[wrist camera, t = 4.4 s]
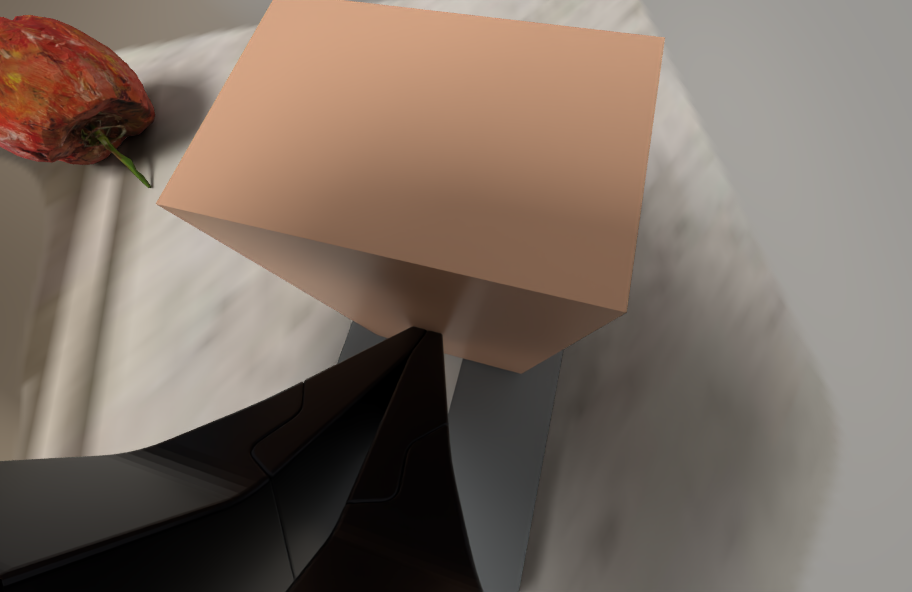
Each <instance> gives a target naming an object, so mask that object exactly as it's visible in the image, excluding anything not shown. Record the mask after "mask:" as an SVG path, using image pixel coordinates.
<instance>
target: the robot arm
mask: <svg viewBox="0 0 912 592" xmlns="http://www.w3.org/2000/svg"><path fill="white" fill-rule="evenodd" d="M448 425H449V421H448V407H447V392H446V377H445V363H444V348H443V335H442V334H441V333H438V332H434V331H427V330H425V329H422V328H418V327H415V326H412V327H410V328H408V329H406V330H404V331H402V332H400V333H398V334H396V335H394V336H392V337H390V338H388V339H386V340H384V341H382V342H380V343H378V344H376V345H374V346H372V347H370V348H368V349H366V350H364V351H362V352H360V353H358V354H356V355H354V356H352V357H350V358H348V359H346V360H344V361H342V362H340V363H338V364H336V365H334V366H332V367H330V368H328V369H326V370H324V371H322V372H320V373H318V374H316V375H314V376H312V377H310V378H308V379H306V380H305V381H304V383H303V382H300V383H298V384H296V385H294V386H292V387H290V388H288V389H286V390H284V391H282V392H280V393H278V394H276V395H274V396H271V397H269V398H267V399H265V400H263V401H261V402H258V403H256V404H254V405H251V406H249V407H247V408H244V409H242V410H240V411H237V412H235V413H233V414H230V415H228V416H225V417H223V418H220V419H218V420H215V421H213V422H211V423H208V424H206V425H203V426H201V427H198V428H196V429H193V430H191V431H189V432H186V433H184V434H181V435H179V436H176V437H174V438H171V439H169V440H167V441H164V442H161V443H158V444H156V445H153V446H150V447H146V448H143V449H140V450H135V451H131V452H127V453H120V454H113V455H102V456H84V457H66V458H48V459H30V460H12V461H0V592H484V591H483V589H482V586H481V583H480V580H479V577H478V573H477V570H476V566H475V563H474V559H473V555H472V551H471V547H470V543H469V538H468V534H467V529H466V525H465V520H464V516H463V511H462V507H461V502H460V498H459V494H458V489H457V484H456V479H455V474H454V468H453V463H452V455H451V446H450V434H449V426H448Z"/></svg>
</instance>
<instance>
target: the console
mask: <svg viewBox="0 0 912 592" xmlns="http://www.w3.org/2000/svg"><path fill="white" fill-rule="evenodd" d="M386 339H388V338H385V337H381V336H378V335H376V334H375V333H373V332H371V331H370V330H368V329H366V328H364V327H363V326H361V325H359V324H358V323H356V322H354V321H352V324H351V327H350V330H349V333H348V335H347V338H346V341H345V344H344V346H343V349H342V352H341V355H340V358H339V360H338V363H340V362H342V361H344V360H346V359H348V358H350V357H352V356H354V355H356V354H358V353H360V352H362V351H364V350H366V349H368V348H370V347H372V346H374V345H376V344H378V343H380V342H382V341H384V340H386ZM563 350H564V349H563ZM563 350H561V351H560V352H558V353H556V354H555V355H553V356H551V357H549V358H548V359H546V360H544V361H542V362H541V363H539V364H537V365H536V366H534V367H532V368H530V369H529V370H527V371H525V372H524V373H522V374H520V373H516V372H512V371H508V370H505V369H501V368H497V367H493V366H490V365H486V364H482V363H478V362H475V361H471V360H467V359H464V358H460V357H456V356H452V355H449V354H445V353H444V363H445V377H446V392H447V407H448V421H449V425H448V426H449V434H450V446H451V455H452V463H453V468H454V474H455V479H456V484H457V489H458V494H459V498H460V502H461V507H462V511H463V516H464V520H465V525H466V529H467V534H468V538H469V543H470V547H471V551H472V555H473V559H474V563H475V566H476V570H477V573H478V577H479V580H480V583H481V586H482V589H483V591H484V592H519V588H520V582H521V577H522V571H523V566H524V561H525V555H526V550H527V544H528V539H529V534H530V528H531V523H532V517H533V512H534V507H535V501H536V496H537V490H538V485H539V480H540V474H541V469H542V463H543V458H544V453H545V447H546V442H547V436H548V431H549V426H550V420H551V415H552V409H553V404H554V399H555V393H556V388H557V382H558V377H559V371H560V366H561V361H562V355H563ZM338 363H337V364H338Z"/></svg>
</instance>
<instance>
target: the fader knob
mask: <svg viewBox="0 0 912 592" xmlns="http://www.w3.org/2000/svg"><path fill="white" fill-rule="evenodd" d="M664 40H665V38H664V37H655V36H646V35H638V34H629V33H621V32H612V31H603V30H595V29H586V28H577V27H569V26H560V25H552V24H543V23H534V22H526V21H517V20H509V19H500V18H491V17H483V16H474V15H466V14H457V13H448V12H440V11H431V10H423V9H414V8H405V7H397V6H388V5H379V4H371V3H362V2H353V1H345V0H273V1H272V2H271V4H270V6H269V8H268V9H267V11H266V13H265V15H264V16H263V18H262V20H261V22H260V23H259V25H258V27H257V29H256V30H255V32H254V34H253V36H252V37H251V39H250V41H249V42H248V44H247V46H246V48H245V49H244V51H243V53H242V55H241V56H240V58H239V60H238V62H237V63H236V65H235V67H234V69H233V70H232V72H231V74H230V76H229V77H228V79H227V81H226V83H225V84H224V86H223V88H222V89H221V91H220V93H219V95H218V96H217V98H216V100H215V102H214V103H213V105H212V107H211V109H210V110H209V112H208V114H207V116H206V117H205V119H204V121H203V123H202V124H201V126H200V128H199V129H198V131H197V133H196V135H195V136H194V138H193V140H192V142H191V143H190V145H189V147H188V149H187V150H186V152H185V154H184V156H183V157H182V159H181V161H180V163H179V164H178V166H177V168H176V170H175V171H174V173H173V175H172V176H171V178H170V180H169V182H168V183H167V185H166V187H165V189H164V190H163V192H162V194H161V196H160V197H159V199H158V201H157V203H156V204H157V205H159V206H160V207H162V208H164V209H165V210H167V211H169V212H170V213H172V214H174V215H176V216H177V217H179V218H181V219H182V220H184V221H186V222H187V223H189V224H191V225H192V226H194V227H196V228H197V229H199V230H201V231H203V232H204V233H206V234H208V235H209V236H211V237H213V238H214V239H216V240H218V241H219V242H221V243H223V244H224V245H226V246H228V247H230V248H231V249H233V250H235V251H236V252H238V253H240V254H241V255H243V256H245V257H246V258H248V259H250V260H251V261H253V262H255V263H257V264H258V265H260V266H262V267H263V268H265V269H267V270H268V271H270V272H272V273H273V274H275V275H277V276H278V277H280V278H282V279H283V280H285V281H287V282H289V283H290V284H292V285H294V286H295V287H297V288H299V289H300V290H302V291H304V292H305V293H307V294H309V295H310V296H312V297H314V298H316V299H317V300H319V301H321V302H322V303H324V304H326V305H327V306H329V307H331V308H332V309H334V310H336V311H337V312H339V313H341V314H343V315H344V316H346V317H348V318H349V319H351V320H353V321H354V322H356V323H358V324H359V325H361V326H363V327H364V328H366V329H368V330H370V331H371V332H373V333H375V334H376V335H378V336H381V337H385V338H390V337H392V336H394V335H396V334H398V333H400V332H402V331H404V330H406V329H408V328H410V327H412V326H415V327H418V328H422V329H425V330H427V331H434V332H438V333H441V334H442V335H443V348H444V353H445V354H449V355H452V356H456V357H460V358H464V359H467V360H471V361H475V362H478V363H482V364H486V365H490V366H493V367H497V368H501V369H505V370H508V371H512V372H516V373H520V374H522V373H524V372H525V371H527V370H529V369H530V368H532V367H534V366H536V365H537V364H539V363H541V362H542V361H544V360H546V359H548V358H549V357H551V356H553V355H555V354H556V353H558V352H560V351H561V350H563V349H565V348H567V347H568V346H570V345H572V344H573V343H575V342H577V341H579V340H580V339H582V338H584V337H585V336H587V335H589V334H591V333H592V332H594V331H596V330H597V329H599V328H601V327H603V326H604V325H606V324H608V323H609V322H611V321H613V320H615V319H616V318H618V317H620V316H622V315H623V314H625V313H627V307H628V299H629V292H630V285H631V278H632V271H633V263H634V256H635V249H636V242H637V235H638V227H639V220H640V213H641V206H642V199H643V191H644V184H645V177H646V170H647V163H648V156H649V148H650V141H651V134H652V127H653V120H654V112H655V105H656V98H657V91H658V84H659V76H660V69H661V62H662V55H663V48H664Z"/></svg>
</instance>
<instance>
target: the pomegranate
mask: <svg viewBox="0 0 912 592" xmlns="http://www.w3.org/2000/svg"><path fill="white" fill-rule="evenodd" d="M154 118H155V112H154V107H153V105H152V103H151V101H150V99H149V98H148V96H147V94H146V92H145V90H144V88H143V84H142V83H141V81H140V80H139V79H138V76H137V75H136V73H135V72H134V71H133V70H132V69H131V68H130V67H129V66H128V64H127V63H125V62H124V61H123V60H122V59H121V58H120V57H119V56H118V55H117V54H116V53H115V52H113V51H112V50H111V49H110V48H108V47H107V46H105V45H103V44H101V43H100V42H98V41H97V40H95V39H93V38H91V37H90V36H88V35H87V34H85V33H83V32H81V31H80V30H78V29H76V28H74V27H72V26H70V25H68V24H65V23H63V22H60V21H58V20H55V19H51V18H45V17H38V16H33V15H23V16H16V17H15V18H14V20H9V19H6V18H4V17H0V147H2V148H4V149H6V150H8V151H9V152H11V153H13V154H15V155H17V156H20V157H23V158H26V159H30V160H34V161H38V162H55V161H57V160H59V161H63V162H67V163H70V164H80V165H89V164H94V163H97V162H99V161H101V160H103V159H105V158H107V157H108V156H109V155H110V154H111V153H113V154H114V155H115V156H116V157H117V158H118V159H119V160H120V161H121V162H122V163H123V164H124V165H125V166H126V167H127V168H128V169H129V170H130V171H131V172H132V173H133V174H134V175H135V176H136V177H137V178H138V179H139V180H140V181H141V182H142V183H143V184H144V185H146V186H147V187H148V188H151V185H150V184H149V183H148V181H147V180H146V179H145V177H144V176H143V175H142V174H141V173H139V172H138V171H137V170H136V168H135V166H134V164H133V162H132V160H131V159H129V158H127V157H126V156H124V155H122V154H121V153H120V152H119V151H117V150H116V149H117V148H118V146H119V145H120V144H121V143H122V141H123V140H124V139H125V138H126V137H128V136H134V135H139V134H140V133H141V132H142V131H143V130H144V129H146V128H147V127H148V126H149V125H150V124H151V123H153V121H154Z"/></svg>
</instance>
